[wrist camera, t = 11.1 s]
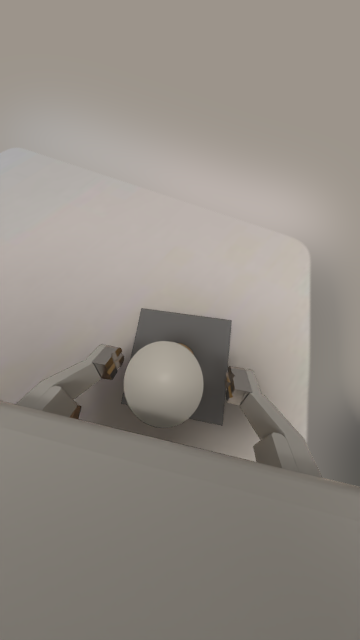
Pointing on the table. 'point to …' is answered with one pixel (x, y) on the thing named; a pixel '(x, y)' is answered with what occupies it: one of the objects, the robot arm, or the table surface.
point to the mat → (207, 346)
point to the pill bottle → (163, 384)
